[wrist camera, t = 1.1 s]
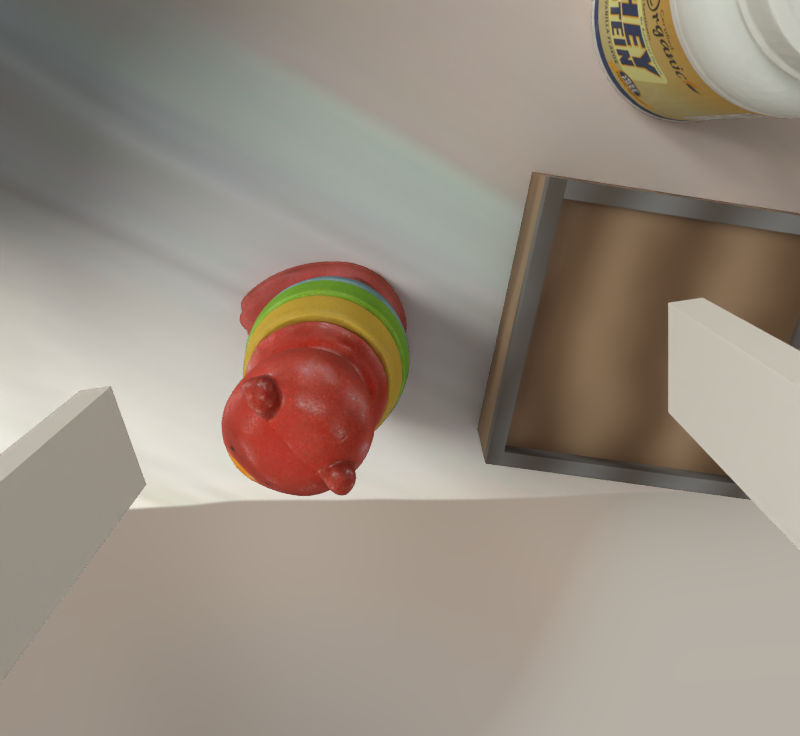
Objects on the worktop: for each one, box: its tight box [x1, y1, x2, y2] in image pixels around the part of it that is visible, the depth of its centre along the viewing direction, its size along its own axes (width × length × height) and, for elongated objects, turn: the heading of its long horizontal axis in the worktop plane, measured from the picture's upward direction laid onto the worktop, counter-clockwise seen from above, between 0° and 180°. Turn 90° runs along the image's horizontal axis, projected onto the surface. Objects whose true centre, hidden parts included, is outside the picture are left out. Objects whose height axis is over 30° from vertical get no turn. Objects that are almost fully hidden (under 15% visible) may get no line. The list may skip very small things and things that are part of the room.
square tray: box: [478, 172, 800, 500], centre depth 39 cm, size 18×18×5 cm
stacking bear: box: [222, 262, 409, 496], centre depth 33 cm, size 11×10×18 cm
